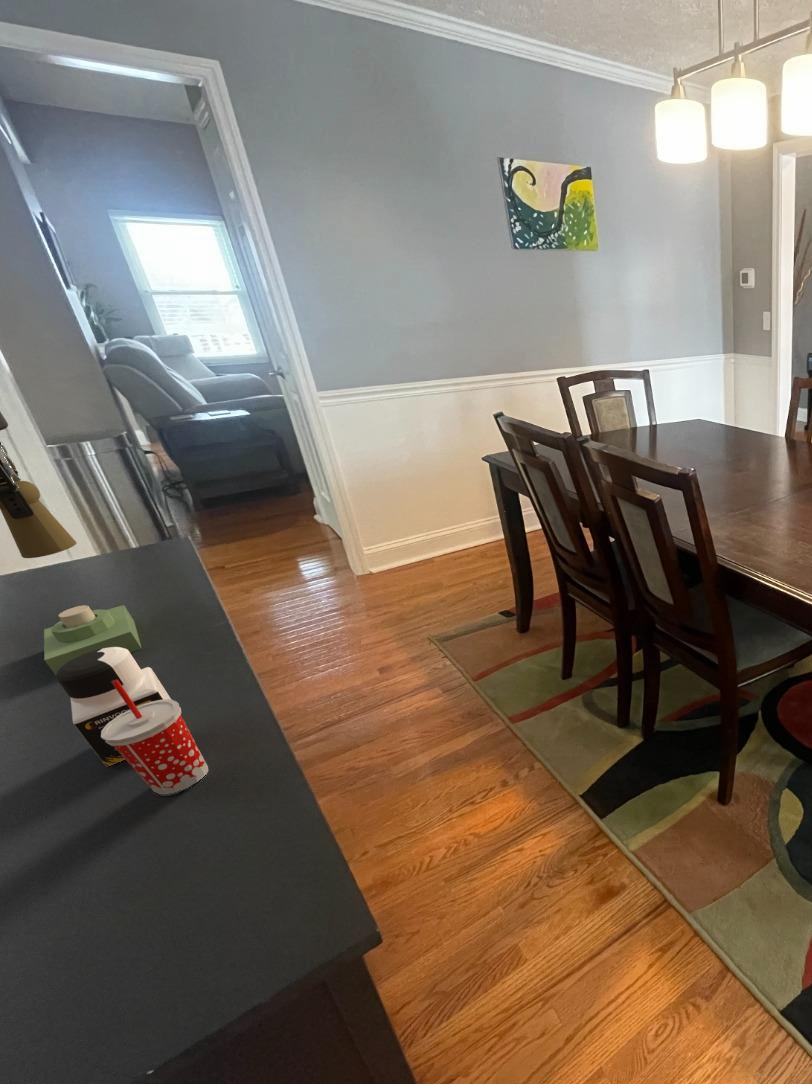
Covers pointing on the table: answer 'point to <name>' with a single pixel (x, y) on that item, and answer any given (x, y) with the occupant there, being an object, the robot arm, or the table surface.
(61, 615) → the beige button cap
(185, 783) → the beverage cup
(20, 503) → the robot arm
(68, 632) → the green push button box
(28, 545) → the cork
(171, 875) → the table surface
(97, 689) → the medicine bottle
